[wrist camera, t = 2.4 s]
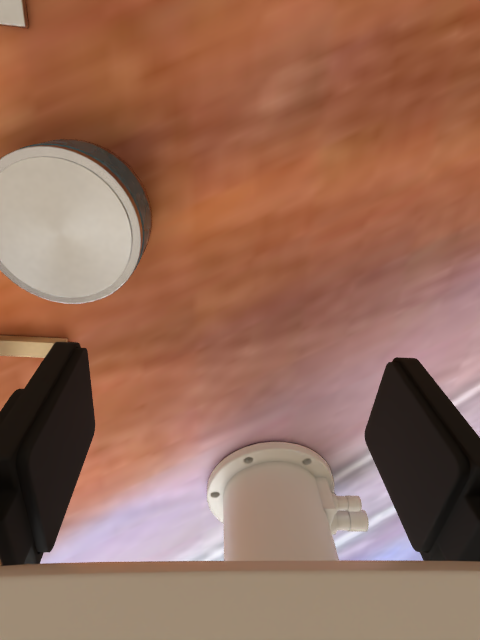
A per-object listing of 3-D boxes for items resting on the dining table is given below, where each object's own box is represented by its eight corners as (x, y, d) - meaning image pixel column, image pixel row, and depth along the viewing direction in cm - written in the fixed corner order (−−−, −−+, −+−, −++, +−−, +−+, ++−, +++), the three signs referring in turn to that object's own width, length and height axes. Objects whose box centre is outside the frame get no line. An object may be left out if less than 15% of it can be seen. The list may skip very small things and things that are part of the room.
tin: (152, 145, 25) (139, 154, 21) (153, 281, 29) (143, 310, 25) (-2, 130, 24) (-46, 136, 20) (22, 272, 28) (-10, 300, 24)
